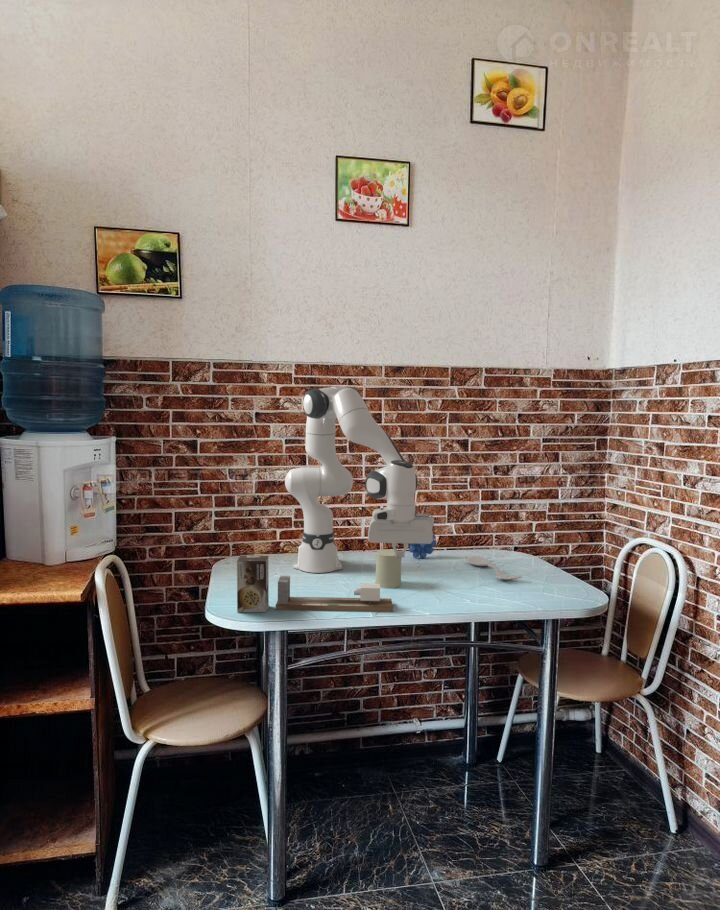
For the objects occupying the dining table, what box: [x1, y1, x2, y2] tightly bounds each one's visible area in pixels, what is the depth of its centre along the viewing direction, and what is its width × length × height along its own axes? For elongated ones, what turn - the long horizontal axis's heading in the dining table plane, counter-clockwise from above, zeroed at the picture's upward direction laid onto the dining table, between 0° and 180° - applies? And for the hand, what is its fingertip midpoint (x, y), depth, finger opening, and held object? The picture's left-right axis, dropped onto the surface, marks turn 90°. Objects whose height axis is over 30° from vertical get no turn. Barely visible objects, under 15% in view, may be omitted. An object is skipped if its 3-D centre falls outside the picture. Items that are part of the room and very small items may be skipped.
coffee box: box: [236, 555, 270, 613], centre depth 188 cm, size 9×6×16 cm
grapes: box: [408, 532, 437, 559], centre depth 254 cm, size 12×7×12 cm, turn 97°
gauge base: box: [275, 575, 394, 613], centre depth 192 cm, size 8×36×8 cm, turn 90°
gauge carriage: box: [353, 582, 381, 604], centre depth 192 cm, size 7×8×4 cm
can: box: [374, 549, 402, 589], centre depth 216 cm, size 9×9×12 cm
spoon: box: [465, 555, 523, 581], centre depth 236 cm, size 9×32×4 cm, turn 15°
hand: (399, 557), depth 191 cm, fingers closed
